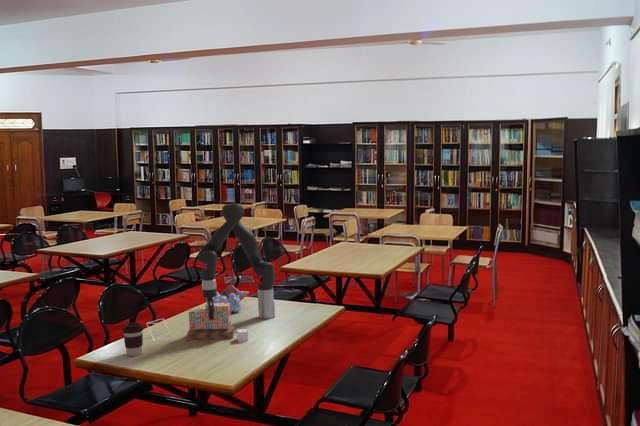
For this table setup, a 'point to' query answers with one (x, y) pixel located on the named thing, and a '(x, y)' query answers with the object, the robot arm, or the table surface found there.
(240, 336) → the pale grey cube
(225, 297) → the lumpy periwinkle toy figure
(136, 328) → the coffee cup
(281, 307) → the table surface
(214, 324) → the stack of blocks
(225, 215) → the robot arm
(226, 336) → the walnut plinth
